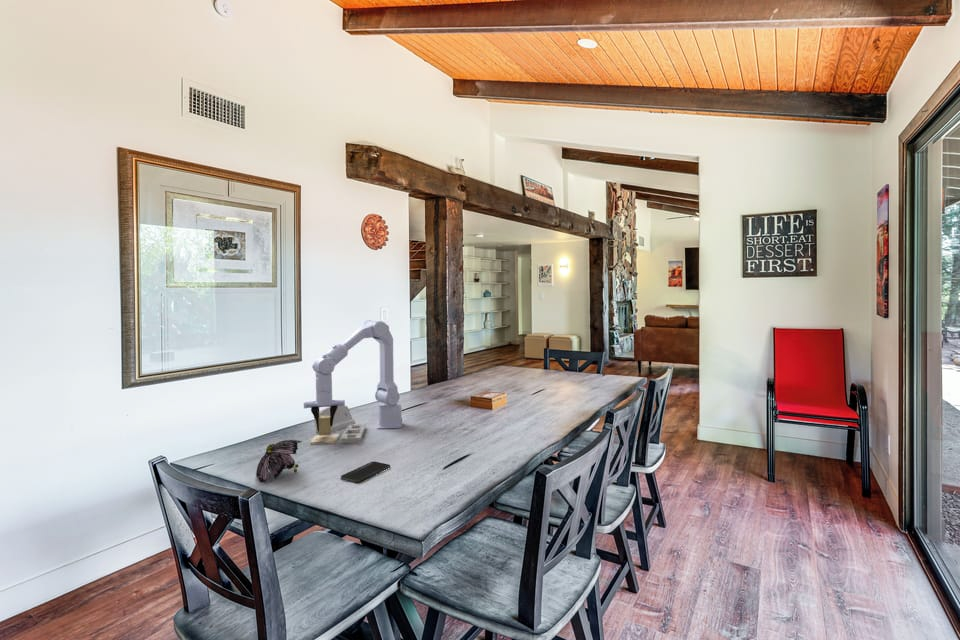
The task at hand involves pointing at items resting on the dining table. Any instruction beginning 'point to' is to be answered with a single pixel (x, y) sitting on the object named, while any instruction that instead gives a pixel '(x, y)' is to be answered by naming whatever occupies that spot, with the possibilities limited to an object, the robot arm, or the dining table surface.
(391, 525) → the dining table surface
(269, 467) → the decorative flower
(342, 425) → the grey rounded upright block
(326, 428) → the brass peg
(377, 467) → the phone
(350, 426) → the grey peg hole board
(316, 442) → the birch pad
